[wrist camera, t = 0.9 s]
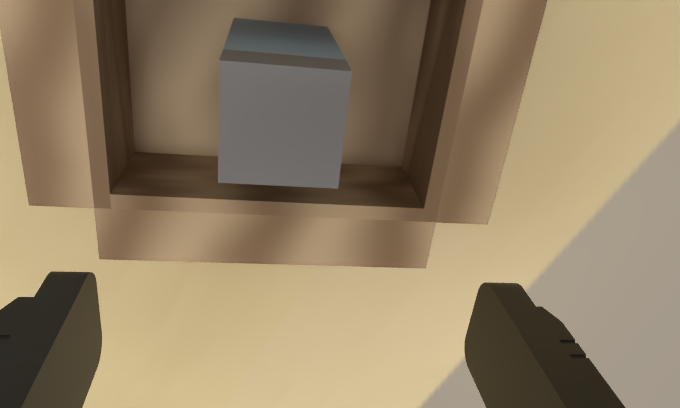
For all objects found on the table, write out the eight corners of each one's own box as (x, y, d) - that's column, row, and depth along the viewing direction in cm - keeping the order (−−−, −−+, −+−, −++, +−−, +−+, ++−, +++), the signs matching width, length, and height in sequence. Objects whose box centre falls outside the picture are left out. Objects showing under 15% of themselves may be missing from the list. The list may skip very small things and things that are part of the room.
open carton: (516, -93, 29) (572, -96, 23) (445, 219, 37) (475, 269, 32) (30, -159, 25) (-34, -181, 20) (74, 203, 33) (37, 257, 28)
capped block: (327, 26, 30) (352, 71, 21) (318, 114, 32) (338, 188, 23) (234, 17, 29) (219, 60, 20) (231, 108, 31) (217, 182, 22)
